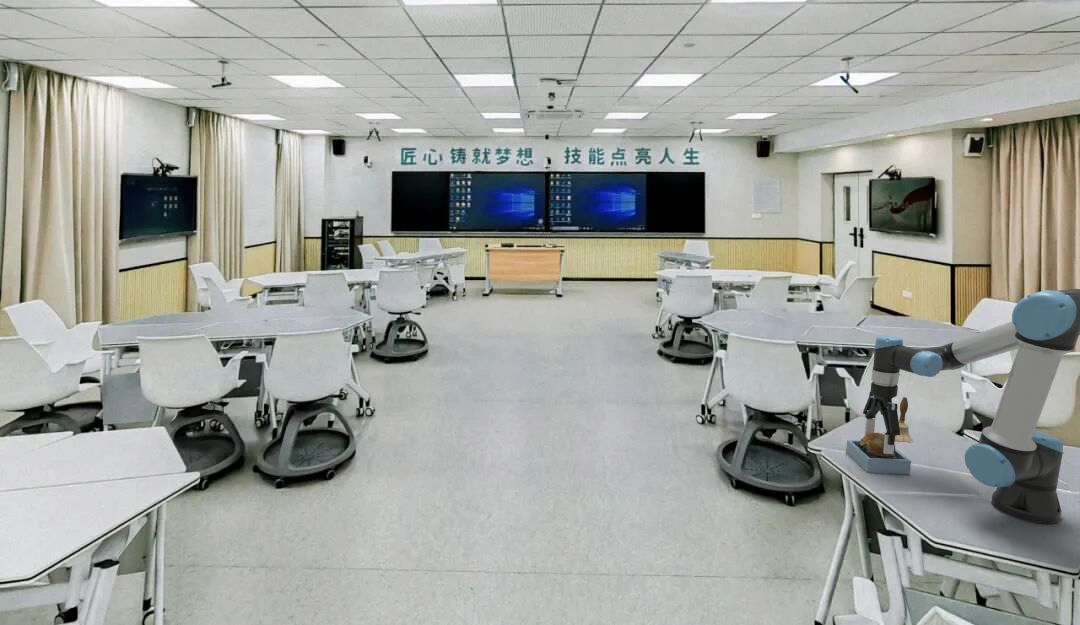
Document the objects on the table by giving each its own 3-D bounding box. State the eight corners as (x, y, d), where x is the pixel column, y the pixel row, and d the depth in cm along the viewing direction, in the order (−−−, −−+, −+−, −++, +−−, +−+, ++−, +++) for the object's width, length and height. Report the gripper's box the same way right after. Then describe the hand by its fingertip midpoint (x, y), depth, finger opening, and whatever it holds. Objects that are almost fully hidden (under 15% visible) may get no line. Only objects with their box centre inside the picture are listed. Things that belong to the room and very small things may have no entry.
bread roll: (885, 469, 187) (899, 450, 184) (854, 449, 192) (867, 431, 189) (888, 459, 195) (902, 440, 192) (858, 440, 200) (872, 422, 197)
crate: (909, 477, 185) (911, 460, 184) (866, 475, 186) (868, 459, 185) (885, 456, 201) (886, 441, 200) (845, 455, 202) (847, 440, 201)
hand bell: (912, 437, 218) (917, 396, 216) (912, 444, 211) (917, 402, 209) (887, 432, 223) (891, 392, 220) (886, 439, 216) (890, 398, 213)
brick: (895, 469, 188) (896, 458, 187) (872, 468, 189) (873, 457, 188) (880, 457, 198) (881, 445, 197) (858, 456, 199) (859, 445, 198)
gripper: (917, 395, 176) (910, 461, 180) (878, 373, 201) (872, 431, 204) (891, 394, 177) (884, 460, 180) (855, 372, 201) (850, 430, 205)
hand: (878, 445), depth 192 cm, fingers open, 13 cm apart
